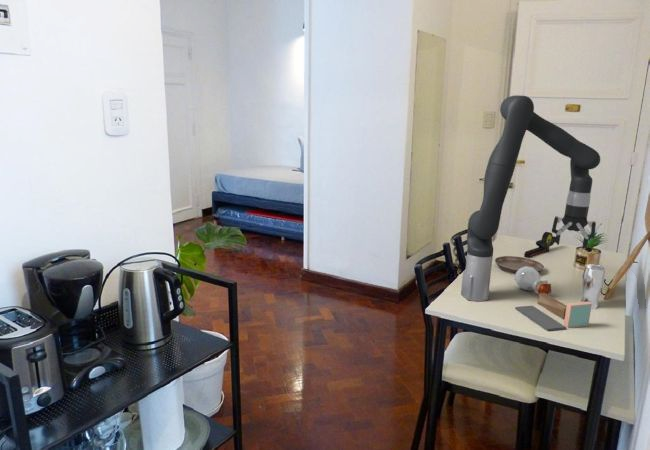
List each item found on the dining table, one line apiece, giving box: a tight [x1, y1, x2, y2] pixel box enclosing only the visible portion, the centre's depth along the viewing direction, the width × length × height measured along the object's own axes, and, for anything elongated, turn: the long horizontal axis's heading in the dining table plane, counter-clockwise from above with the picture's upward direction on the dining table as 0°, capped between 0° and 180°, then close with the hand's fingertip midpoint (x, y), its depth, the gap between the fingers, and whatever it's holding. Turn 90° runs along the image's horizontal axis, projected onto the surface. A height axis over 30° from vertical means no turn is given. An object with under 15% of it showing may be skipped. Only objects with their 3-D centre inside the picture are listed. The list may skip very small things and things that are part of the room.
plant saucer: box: [494, 255, 545, 275], centre depth 223 cm, size 21×21×3 cm
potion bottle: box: [514, 266, 552, 296], centre depth 196 cm, size 9×10×15 cm
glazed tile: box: [563, 301, 592, 329], centre depth 167 cm, size 8×2×8 cm, turn 103°
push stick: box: [537, 293, 567, 320], centre depth 179 cm, size 2×14×4 cm, turn 13°
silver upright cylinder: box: [580, 263, 606, 310], centre depth 183 cm, size 7×7×15 cm
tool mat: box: [514, 305, 567, 332], centre depth 172 cm, size 7×18×1 cm, turn 13°
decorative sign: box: [523, 231, 556, 259], centre depth 247 cm, size 27×2×10 cm, turn 129°
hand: (570, 246), depth 186 cm, fingers open, 8 cm apart
